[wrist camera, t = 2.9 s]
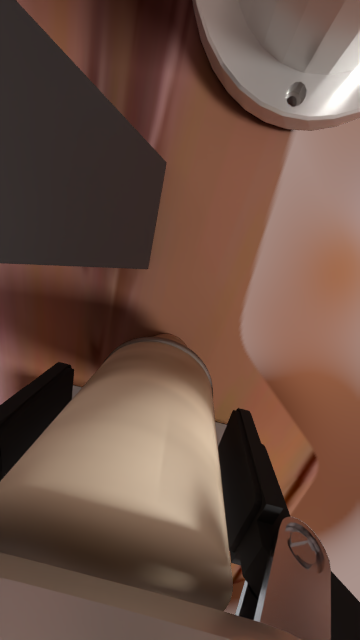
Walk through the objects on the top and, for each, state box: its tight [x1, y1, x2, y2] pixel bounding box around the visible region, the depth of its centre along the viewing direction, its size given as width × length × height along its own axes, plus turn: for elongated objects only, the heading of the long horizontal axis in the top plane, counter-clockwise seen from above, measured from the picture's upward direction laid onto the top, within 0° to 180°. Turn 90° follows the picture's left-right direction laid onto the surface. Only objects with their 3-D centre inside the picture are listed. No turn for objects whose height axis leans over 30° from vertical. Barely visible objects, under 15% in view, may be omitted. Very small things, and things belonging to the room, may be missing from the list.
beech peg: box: [0, 334, 233, 611], centre depth 10 cm, size 6×6×11 cm
